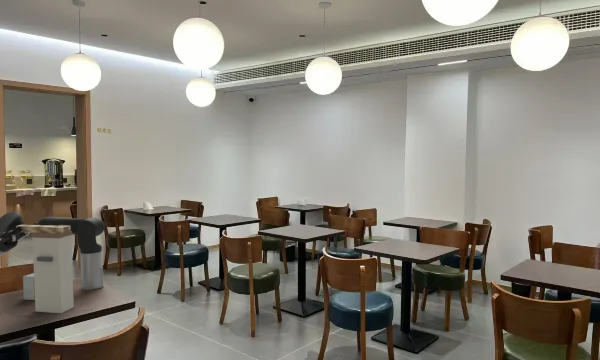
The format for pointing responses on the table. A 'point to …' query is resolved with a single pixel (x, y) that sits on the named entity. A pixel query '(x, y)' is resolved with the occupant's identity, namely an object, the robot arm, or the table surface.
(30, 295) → the small box
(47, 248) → the white tall carton
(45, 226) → the tan wooden plank
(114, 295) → the table surface
